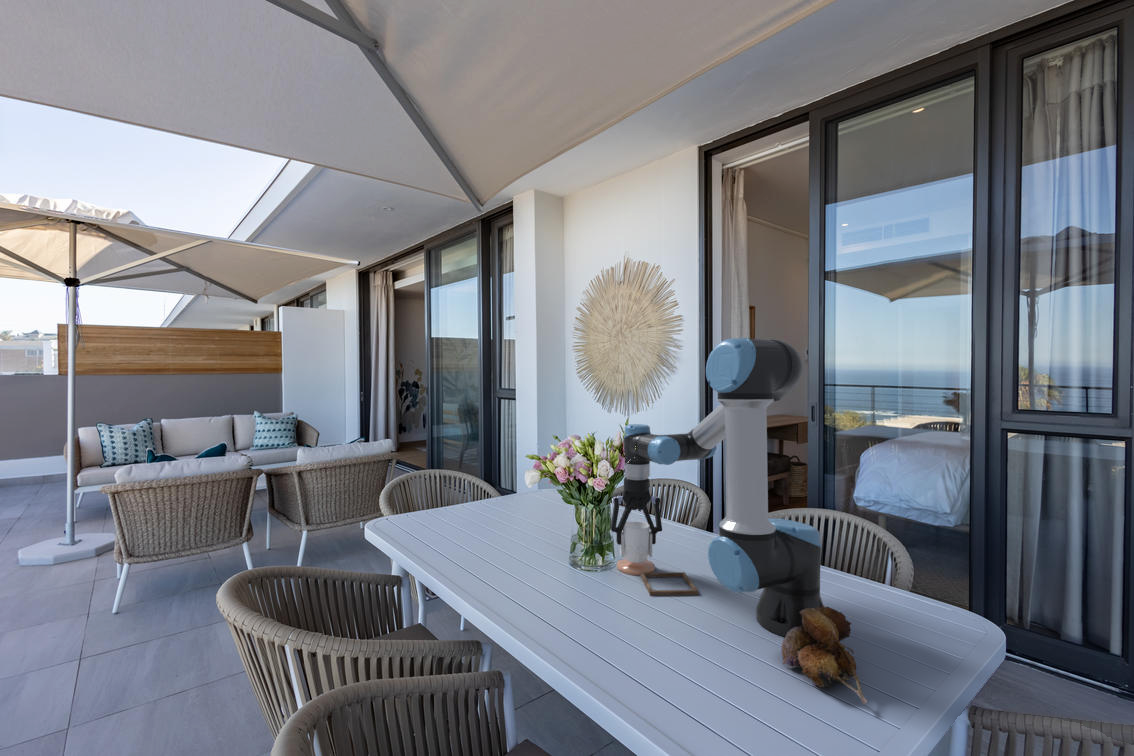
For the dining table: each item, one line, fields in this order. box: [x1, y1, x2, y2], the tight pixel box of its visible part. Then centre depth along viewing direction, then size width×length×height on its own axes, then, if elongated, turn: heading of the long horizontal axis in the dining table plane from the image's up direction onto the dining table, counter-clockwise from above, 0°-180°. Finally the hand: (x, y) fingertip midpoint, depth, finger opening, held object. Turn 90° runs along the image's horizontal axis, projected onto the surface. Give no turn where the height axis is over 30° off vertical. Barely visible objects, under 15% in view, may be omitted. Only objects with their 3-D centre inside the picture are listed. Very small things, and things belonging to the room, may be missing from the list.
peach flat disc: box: [616, 558, 656, 576], centre depth 150 cm, size 11×11×1 cm
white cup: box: [622, 520, 651, 563], centre depth 150 cm, size 8×8×10 cm
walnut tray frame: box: [640, 571, 699, 597], centre depth 138 cm, size 13×13×1 cm
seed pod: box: [781, 605, 868, 705], centre depth 97 cm, size 13×16×15 cm
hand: (635, 554), depth 150 cm, fingers closed on white cup, 8 cm apart
